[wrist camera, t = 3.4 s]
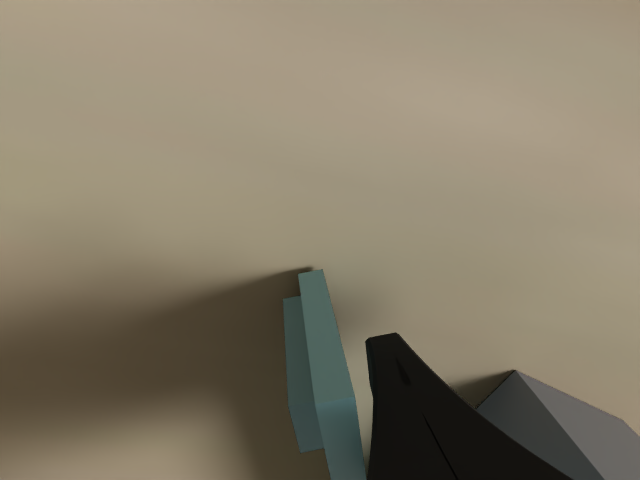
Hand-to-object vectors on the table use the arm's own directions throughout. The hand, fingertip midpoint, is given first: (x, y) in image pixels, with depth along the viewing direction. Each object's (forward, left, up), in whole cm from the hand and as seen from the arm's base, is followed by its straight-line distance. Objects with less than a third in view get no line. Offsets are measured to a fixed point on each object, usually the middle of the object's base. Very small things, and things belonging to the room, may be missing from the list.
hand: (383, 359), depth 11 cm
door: (-2, +6, -2) cm, 6 cm away
